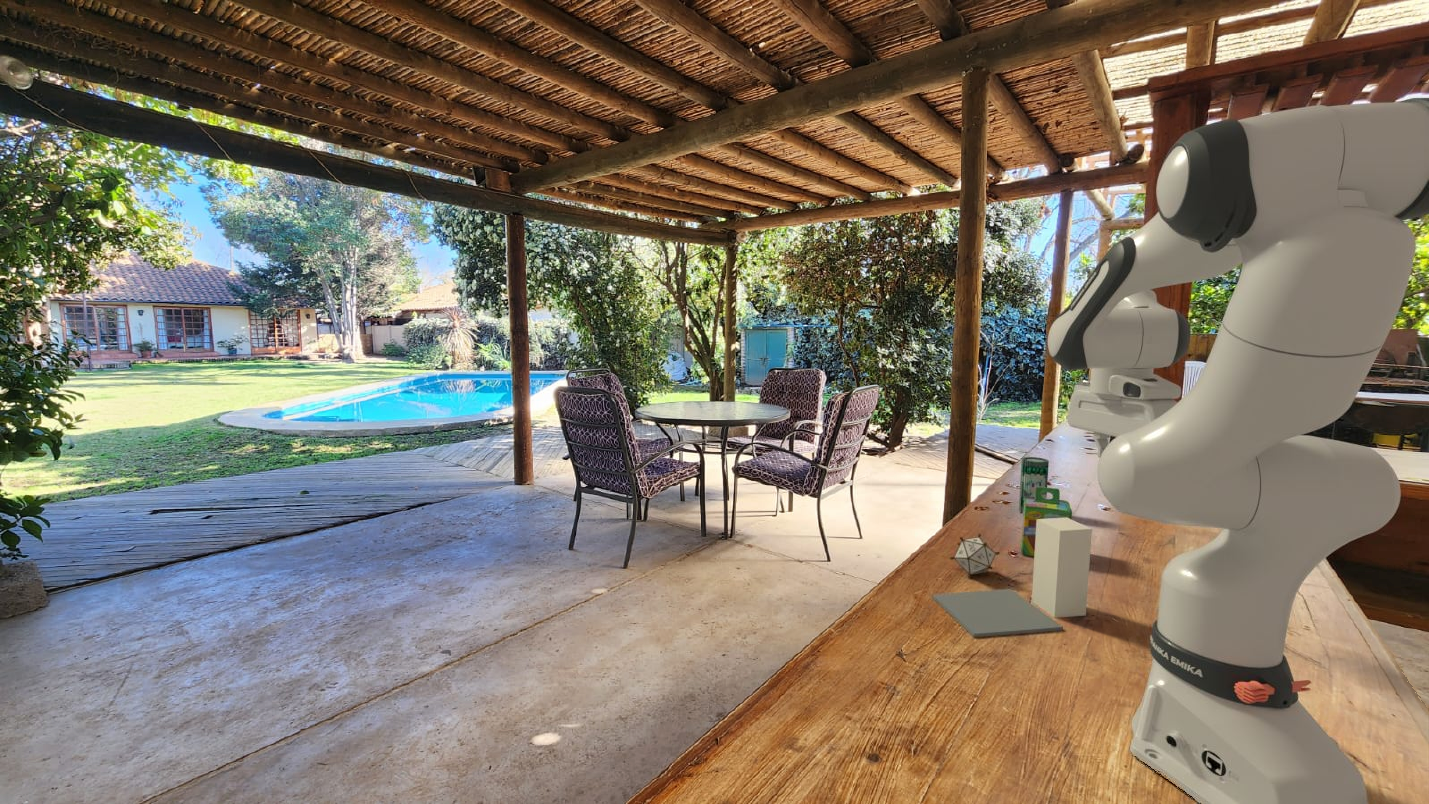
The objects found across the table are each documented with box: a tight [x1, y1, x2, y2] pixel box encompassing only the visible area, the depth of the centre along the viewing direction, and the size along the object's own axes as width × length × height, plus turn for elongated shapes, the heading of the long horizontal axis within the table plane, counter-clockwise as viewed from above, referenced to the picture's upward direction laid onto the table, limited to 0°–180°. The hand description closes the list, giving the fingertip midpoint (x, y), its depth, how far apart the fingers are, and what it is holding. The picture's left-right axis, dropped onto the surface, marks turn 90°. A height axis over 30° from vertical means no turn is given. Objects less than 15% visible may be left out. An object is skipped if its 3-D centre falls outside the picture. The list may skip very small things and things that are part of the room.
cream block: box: [1031, 517, 1093, 618], centre depth 101 cm, size 6×6×16 cm
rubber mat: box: [931, 588, 1064, 638], centre depth 101 cm, size 14×16×1 cm
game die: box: [948, 533, 1001, 579], centre depth 116 cm, size 9×8×10 cm
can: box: [1018, 456, 1049, 514], centre depth 152 cm, size 6×6×15 cm
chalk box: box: [1020, 487, 1073, 557], centre depth 126 cm, size 9×9×15 cm
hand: (1114, 461), depth 99 cm, fingers open, 3 cm apart
